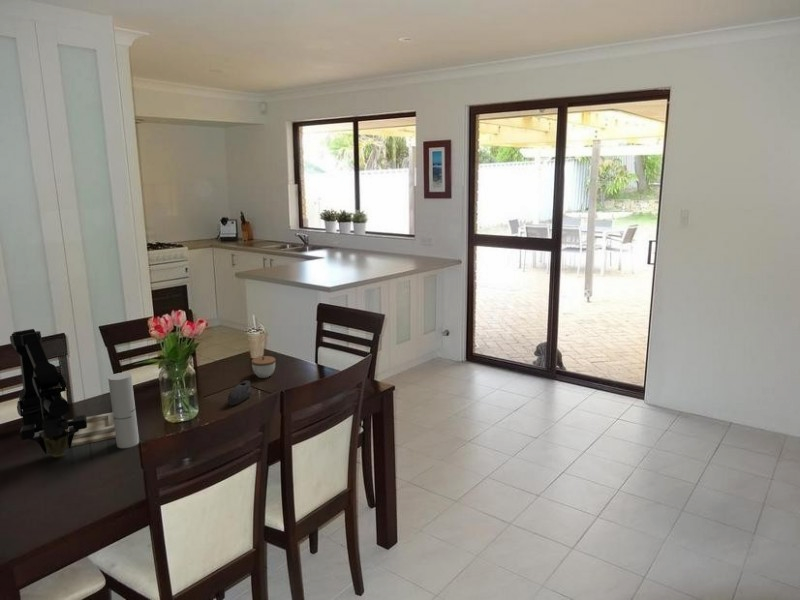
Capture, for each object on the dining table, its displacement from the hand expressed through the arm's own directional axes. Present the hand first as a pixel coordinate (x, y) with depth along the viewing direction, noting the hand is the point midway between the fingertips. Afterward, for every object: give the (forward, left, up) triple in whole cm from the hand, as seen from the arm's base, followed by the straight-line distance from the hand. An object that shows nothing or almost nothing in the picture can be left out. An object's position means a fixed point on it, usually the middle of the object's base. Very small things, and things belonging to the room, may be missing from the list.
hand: (58, 450), depth 189 cm
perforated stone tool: (+64, +18, -2) cm, 66 cm away
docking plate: (+10, +17, -2) cm, 20 cm away
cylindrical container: (+21, -1, -2) cm, 21 cm away
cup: (0, 0, -2) cm, 2 cm away
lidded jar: (+81, +43, -2) cm, 92 cm away
